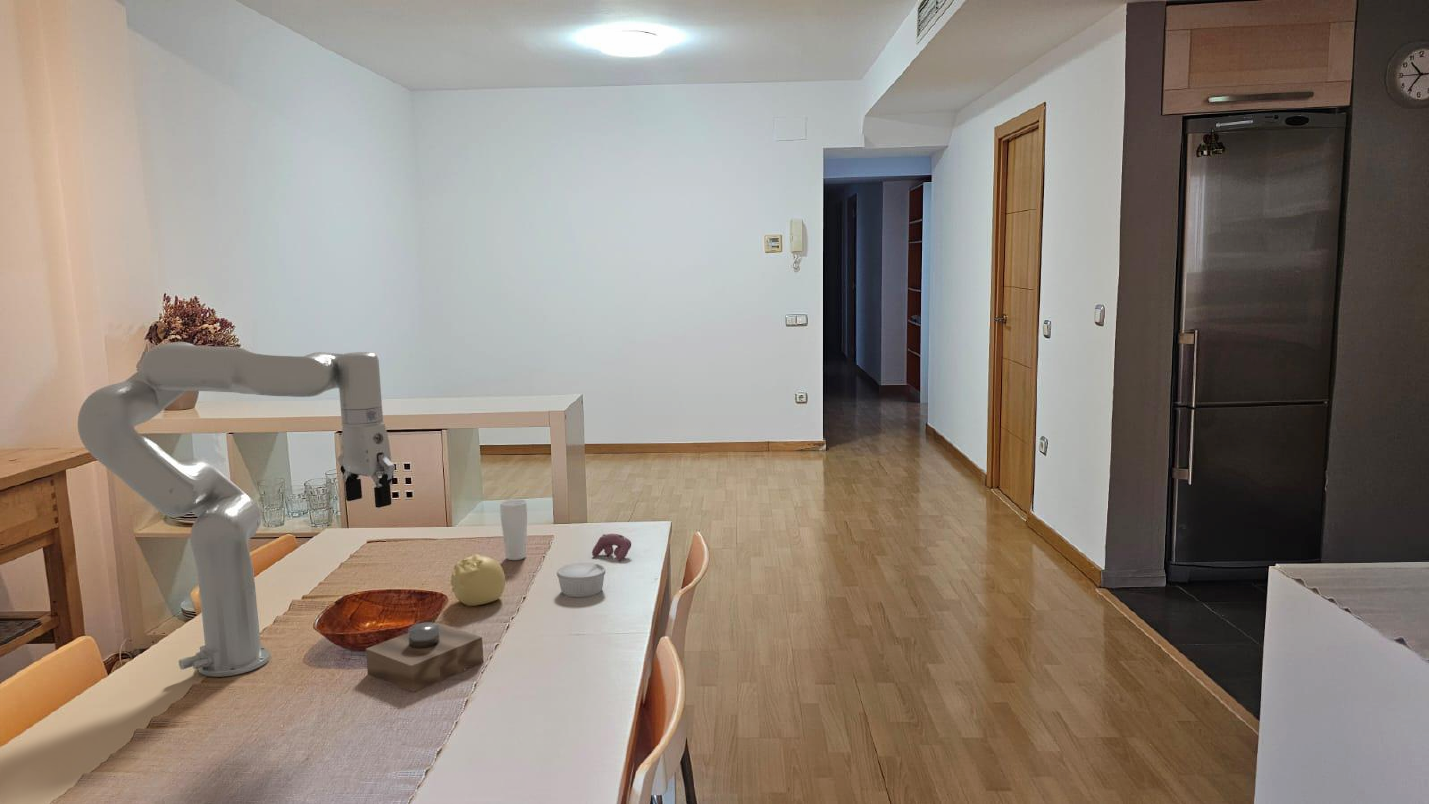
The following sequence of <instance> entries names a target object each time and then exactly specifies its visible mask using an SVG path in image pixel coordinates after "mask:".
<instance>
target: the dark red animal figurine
mask: <svg viewBox="0 0 1429 804" xmlns="http://www.w3.org/2000/svg"><path fill="white" fill-rule="evenodd" d="M614 546H616V547H615V548H614ZM631 548H632V541H631V540H630V539H629V538H627V537H626V536H624V535H622V534H618V533H607V534H602V536H600V537H599V538H598V540H597V542H596V543H595V545H594V546H593V549H592V552H591V554H592V556H596V557H598V556H599V555H600V554H601V552H604V554H605V555H607V556H611V555H614V556H615V557H617V560H618V561H619V562H622V561H623V560H624V559H625V558H626V557H627V555H628V553H629V551H630V550H631ZM621 560H622V561H621Z"/></svg>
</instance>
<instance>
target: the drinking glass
mask: <svg viewBox="0 0 1429 804" xmlns="http://www.w3.org/2000/svg"><path fill="white" fill-rule="evenodd" d="M499 509H500V513H499V514H500V523H501V528H502V529H501V531H502V535H503V544H504V550H505V551H504V552H505V558H506V560H508V561H520V560H523V559H525V558H526V557H527V534H528V532H527V531H528V506H527V500H524V499H518V498H517V499H507V500H503V501H501V502H500V508H499Z"/></svg>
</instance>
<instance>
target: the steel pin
mask: <svg viewBox="0 0 1429 804" xmlns="http://www.w3.org/2000/svg"><path fill="white" fill-rule="evenodd" d="M407 633H408V637H409V646H410V647H411V648H415V649H423V648H429V647H433V646H435V645H437V644H438V643H439V642H440V637H439V625H438V624H436V622H433V621H432V622H431V621H428V622H420V623H415V624H413V625H411V626H409V627H408V629H407Z"/></svg>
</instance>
